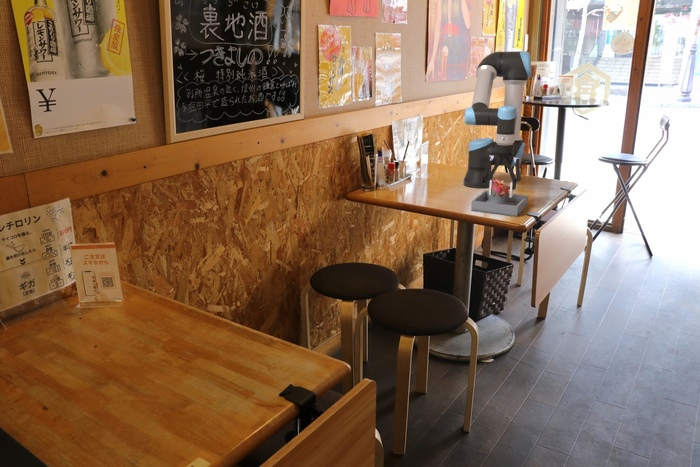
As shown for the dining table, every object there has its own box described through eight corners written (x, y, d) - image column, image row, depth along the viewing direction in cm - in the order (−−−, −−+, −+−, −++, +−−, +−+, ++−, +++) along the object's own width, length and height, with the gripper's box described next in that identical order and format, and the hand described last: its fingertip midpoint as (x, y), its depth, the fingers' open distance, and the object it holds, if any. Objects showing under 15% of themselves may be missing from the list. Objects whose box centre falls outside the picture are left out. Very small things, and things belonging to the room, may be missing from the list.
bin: (471, 210, 248) (471, 200, 247) (484, 200, 265) (485, 190, 263) (516, 217, 239) (517, 206, 238) (527, 205, 256) (528, 195, 254)
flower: (493, 196, 244) (506, 182, 242) (481, 187, 251) (493, 172, 249) (505, 206, 250) (517, 192, 248) (493, 196, 257) (505, 182, 255)
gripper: (477, 143, 245) (474, 194, 252) (528, 147, 235) (523, 200, 242) (483, 140, 251) (479, 190, 258) (532, 144, 241) (527, 196, 248)
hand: (500, 195), depth 250 cm, fingers open, 8 cm apart
